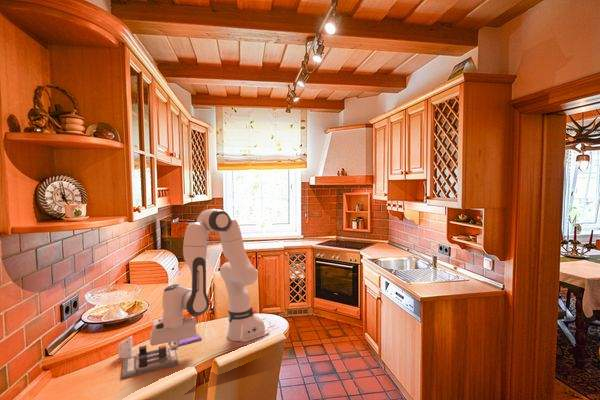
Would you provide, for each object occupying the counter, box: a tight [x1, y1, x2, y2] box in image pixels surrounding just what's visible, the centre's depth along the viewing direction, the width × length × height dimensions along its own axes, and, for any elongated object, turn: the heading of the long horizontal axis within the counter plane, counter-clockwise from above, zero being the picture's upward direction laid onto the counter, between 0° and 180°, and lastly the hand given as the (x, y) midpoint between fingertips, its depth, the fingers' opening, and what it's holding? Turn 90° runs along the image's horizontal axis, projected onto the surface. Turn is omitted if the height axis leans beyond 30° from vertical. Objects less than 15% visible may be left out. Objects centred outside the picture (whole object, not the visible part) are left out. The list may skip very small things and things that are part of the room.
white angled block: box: [117, 335, 136, 359], centre depth 153 cm, size 4×10×9 cm
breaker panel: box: [121, 345, 179, 379], centre depth 146 cm, size 22×16×6 cm
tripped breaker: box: [158, 344, 167, 358], centre depth 148 cm, size 3×3×5 cm
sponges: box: [173, 332, 203, 347], centre depth 168 cm, size 7×13×2 cm, turn 125°
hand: (174, 349), depth 150 cm, fingers closed
